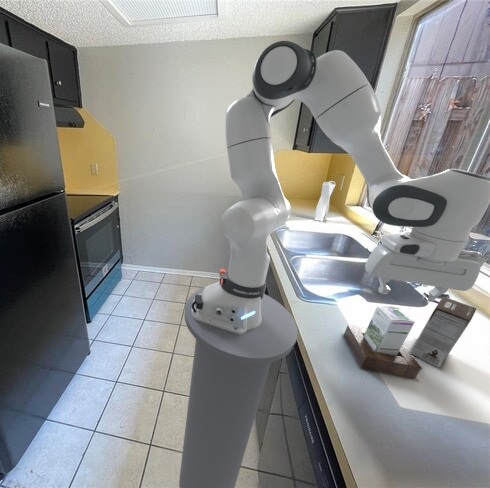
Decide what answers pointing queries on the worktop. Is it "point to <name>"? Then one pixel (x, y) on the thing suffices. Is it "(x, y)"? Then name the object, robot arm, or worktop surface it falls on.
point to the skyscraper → (324, 202)
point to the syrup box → (388, 330)
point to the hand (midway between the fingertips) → (404, 296)
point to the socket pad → (380, 356)
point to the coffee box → (442, 331)
